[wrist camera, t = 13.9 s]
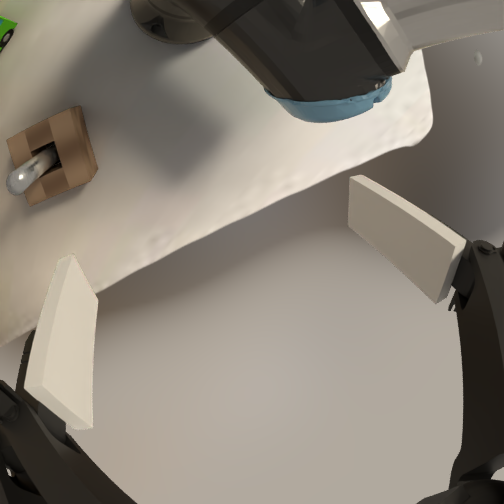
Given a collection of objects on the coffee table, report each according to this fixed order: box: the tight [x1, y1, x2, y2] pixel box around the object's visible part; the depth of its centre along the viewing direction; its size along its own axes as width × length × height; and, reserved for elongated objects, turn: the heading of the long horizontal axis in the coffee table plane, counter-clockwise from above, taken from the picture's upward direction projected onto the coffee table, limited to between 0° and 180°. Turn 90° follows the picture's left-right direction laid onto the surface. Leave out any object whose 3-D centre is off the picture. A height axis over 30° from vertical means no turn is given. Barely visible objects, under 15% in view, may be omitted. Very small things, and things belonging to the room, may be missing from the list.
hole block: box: [6, 106, 98, 206], centre depth 31 cm, size 10×10×6 cm
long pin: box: [6, 144, 60, 195], centre depth 27 cm, size 2×2×16 cm
